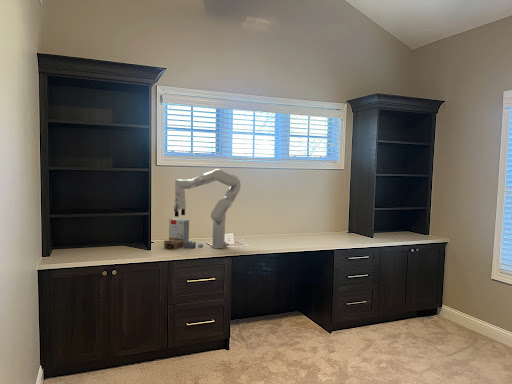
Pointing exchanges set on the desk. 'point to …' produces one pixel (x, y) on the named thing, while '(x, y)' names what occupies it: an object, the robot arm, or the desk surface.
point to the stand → (173, 243)
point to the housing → (189, 245)
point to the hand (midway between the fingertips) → (179, 215)
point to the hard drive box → (179, 229)
